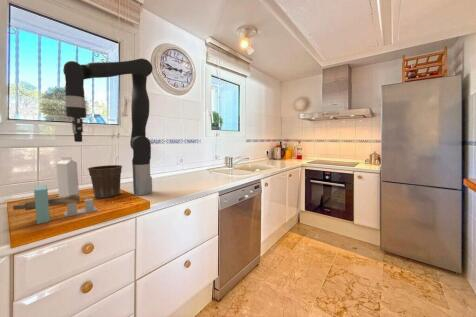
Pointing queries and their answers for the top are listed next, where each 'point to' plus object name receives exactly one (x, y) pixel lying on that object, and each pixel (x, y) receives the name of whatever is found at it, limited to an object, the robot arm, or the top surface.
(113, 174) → the plant pot
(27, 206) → the needle
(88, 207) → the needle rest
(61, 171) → the milk
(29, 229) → the top surface
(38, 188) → the teal rectangular frame
